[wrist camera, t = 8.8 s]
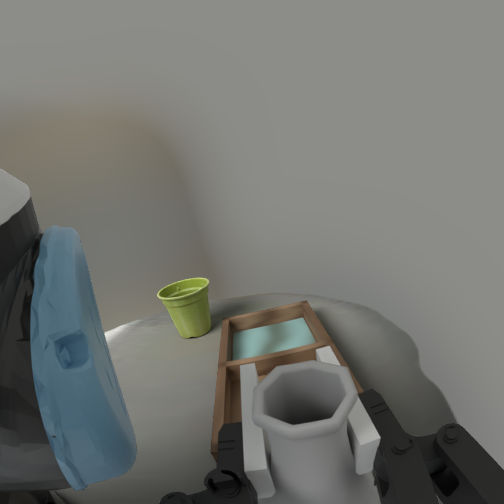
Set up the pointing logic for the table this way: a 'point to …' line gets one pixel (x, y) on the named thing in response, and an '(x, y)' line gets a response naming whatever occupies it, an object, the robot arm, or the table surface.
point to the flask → (311, 435)
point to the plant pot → (188, 306)
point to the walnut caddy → (264, 353)
